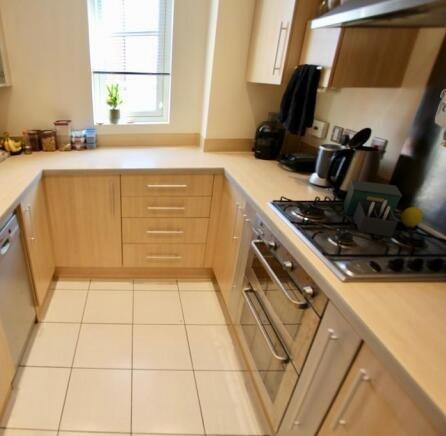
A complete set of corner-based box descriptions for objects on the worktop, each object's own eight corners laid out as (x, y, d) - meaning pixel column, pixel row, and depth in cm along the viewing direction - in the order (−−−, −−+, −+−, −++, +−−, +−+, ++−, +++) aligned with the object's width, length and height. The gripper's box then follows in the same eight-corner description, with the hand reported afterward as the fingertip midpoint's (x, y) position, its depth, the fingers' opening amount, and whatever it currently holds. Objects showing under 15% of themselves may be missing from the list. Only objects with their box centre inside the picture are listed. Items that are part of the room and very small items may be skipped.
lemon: (402, 222, 117) (411, 202, 113) (420, 228, 112) (430, 208, 109) (393, 225, 115) (402, 205, 111) (410, 232, 110) (420, 211, 107)
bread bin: (385, 210, 125) (396, 185, 120) (391, 222, 117) (402, 196, 112) (342, 204, 131) (351, 180, 126) (345, 214, 123) (354, 189, 118)
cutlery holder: (381, 222, 117) (392, 197, 112) (389, 240, 106) (401, 213, 101) (352, 217, 121) (362, 192, 116) (357, 234, 110) (367, 208, 105)
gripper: (504, 99, 74) (476, 157, 80) (469, 90, 90) (448, 139, 96) (467, 99, 77) (443, 154, 83) (440, 90, 93) (421, 137, 99)
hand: (445, 146), depth 90 cm, fingers closed
